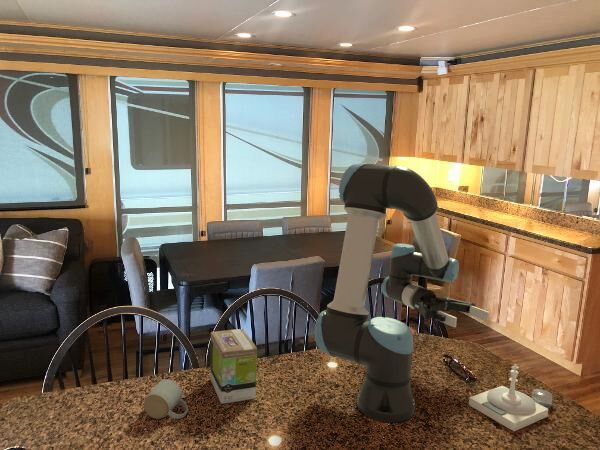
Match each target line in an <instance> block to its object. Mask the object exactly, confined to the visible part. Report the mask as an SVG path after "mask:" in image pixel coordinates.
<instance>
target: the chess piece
mask: <svg viewBox="0 0 600 450" xmlns="http://www.w3.org/2000/svg"><path fill="white" fill-rule="evenodd" d="M510 367H511V370H510V371H509V372H510V378H509V379H508V380H509V382H510V384H509V385H510V386H509V388H508V389H509V392H507V393H503V394H502V396H501V398H502V400H503V401H505V402H507V403H510V404H520V403H521V398H520V397H519V396H518V395H516V393H515V390H516V383H518V382H519V381H518V379H517V377H518V375H519V371H518V370H519V366H517V363H515V364H514V365H512V366H510Z"/></svg>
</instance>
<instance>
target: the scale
mask: <svg viewBox="0 0 600 450" xmlns="http://www.w3.org/2000/svg"><path fill="white" fill-rule="evenodd" d="M509 389H510V388H508V387H506V386H504V385H500V386H498V387H495V388H492V389H489V390H487V391H484V392H480V393H478V394H476V395H472V396H470V397H469V398H468V399H469V400H468V406H470V407H472V408H473V409H474V410H476V411H477V412H480V413H482V414H483V415H485V416H487V417H488V418H491V419H492V420H494V421H495V422H497V423H498V424H501V425H502V426H504V428H507V429H508V430H511V431H512V432H517V431H519V430H520V429H523V428H525V427H527V426H529V425H532V424H534V423H537V422H538V421H541V420H542V419H545V418H548V414H549V408H545V407H544V406H542V405H540V404H538V403H536V402H534V400H533V399H532V397H530V396H529V395H527V394H526V393H524V392H520V391H518V390H516V389H515V393H516V395H518V396H519V397H520V398H521V403H520V404H510V403H507V402H505V401H503V400H502V398H501V396H502V394H503V393H507V392H509Z"/></svg>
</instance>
